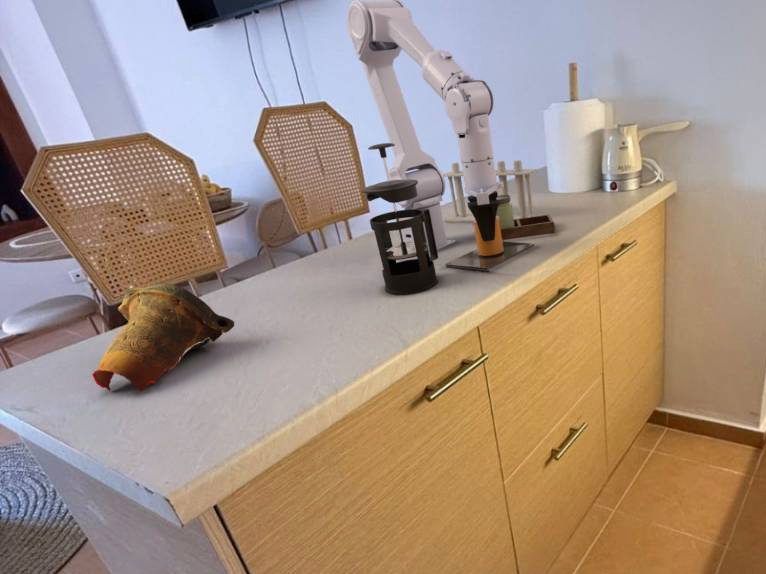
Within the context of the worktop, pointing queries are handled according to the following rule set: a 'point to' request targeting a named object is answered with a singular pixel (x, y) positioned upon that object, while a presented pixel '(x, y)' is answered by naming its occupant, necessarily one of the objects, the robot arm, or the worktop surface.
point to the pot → (158, 333)
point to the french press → (409, 272)
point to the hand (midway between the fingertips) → (488, 236)
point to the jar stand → (529, 227)
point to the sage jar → (505, 212)
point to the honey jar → (489, 246)
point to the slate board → (488, 257)
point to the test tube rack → (504, 190)
